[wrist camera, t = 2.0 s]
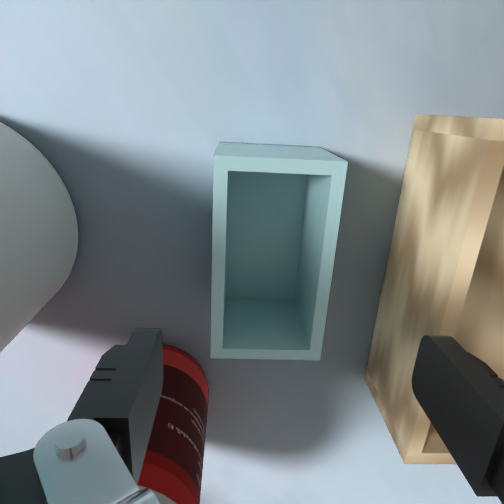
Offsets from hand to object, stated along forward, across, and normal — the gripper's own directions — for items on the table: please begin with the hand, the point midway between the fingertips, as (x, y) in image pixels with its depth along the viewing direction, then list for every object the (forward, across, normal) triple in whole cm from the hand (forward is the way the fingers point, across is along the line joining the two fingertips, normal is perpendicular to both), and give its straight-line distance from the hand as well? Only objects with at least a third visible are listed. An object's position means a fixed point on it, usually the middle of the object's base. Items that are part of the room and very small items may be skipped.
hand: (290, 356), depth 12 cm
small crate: (+12, 0, 0) cm, 12 cm away
